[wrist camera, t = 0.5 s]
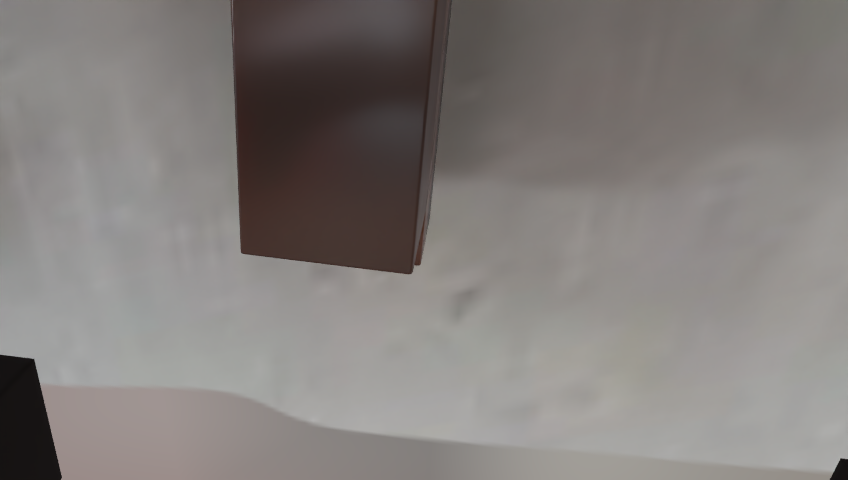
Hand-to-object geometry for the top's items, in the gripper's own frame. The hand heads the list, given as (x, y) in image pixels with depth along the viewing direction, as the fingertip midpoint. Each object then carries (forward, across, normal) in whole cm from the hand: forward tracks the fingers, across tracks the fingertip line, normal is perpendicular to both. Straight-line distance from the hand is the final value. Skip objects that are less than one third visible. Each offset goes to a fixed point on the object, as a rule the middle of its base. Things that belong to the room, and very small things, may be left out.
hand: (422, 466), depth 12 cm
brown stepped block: (+14, -3, +4) cm, 15 cm away
